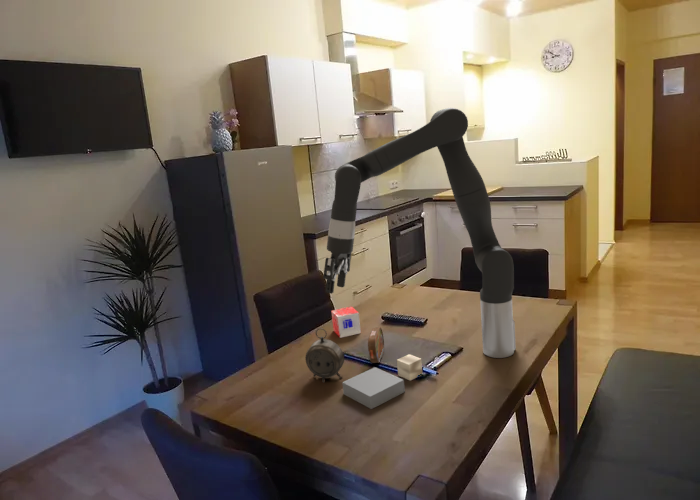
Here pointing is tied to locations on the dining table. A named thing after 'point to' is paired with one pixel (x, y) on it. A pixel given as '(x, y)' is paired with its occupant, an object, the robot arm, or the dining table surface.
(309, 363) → the alarm clock
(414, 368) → the birch cube
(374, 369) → the base block
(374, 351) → the tin
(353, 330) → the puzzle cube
